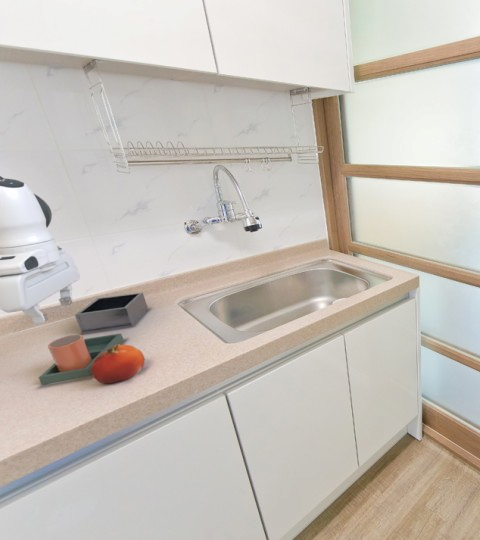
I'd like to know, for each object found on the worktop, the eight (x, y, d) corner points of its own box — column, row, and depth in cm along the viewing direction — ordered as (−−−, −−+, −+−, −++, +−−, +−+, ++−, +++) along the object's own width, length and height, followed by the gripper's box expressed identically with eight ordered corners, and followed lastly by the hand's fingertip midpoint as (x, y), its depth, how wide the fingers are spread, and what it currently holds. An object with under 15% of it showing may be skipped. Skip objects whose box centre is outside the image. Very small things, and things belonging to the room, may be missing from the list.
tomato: (153, 361, 84) (144, 334, 81) (140, 384, 76) (129, 354, 73) (108, 370, 81) (97, 342, 78) (90, 394, 73) (76, 364, 70)
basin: (82, 334, 98) (74, 314, 96) (104, 316, 109) (97, 298, 107) (132, 327, 102) (126, 307, 99) (148, 309, 113) (142, 292, 111)
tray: (42, 386, 76) (38, 377, 75) (85, 347, 91) (81, 339, 90) (91, 378, 78) (87, 369, 77) (124, 341, 94) (121, 333, 93)
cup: (54, 379, 77) (40, 349, 75) (70, 364, 83) (57, 336, 80) (85, 373, 79) (73, 344, 76) (98, 359, 84) (87, 332, 82)
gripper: (44, 245, 80) (66, 297, 84) (-30, 272, 61) (3, 336, 66) (76, 242, 82) (95, 293, 86) (14, 267, 63) (43, 330, 68)
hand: (55, 312), depth 76 cm, fingers open, 8 cm apart
